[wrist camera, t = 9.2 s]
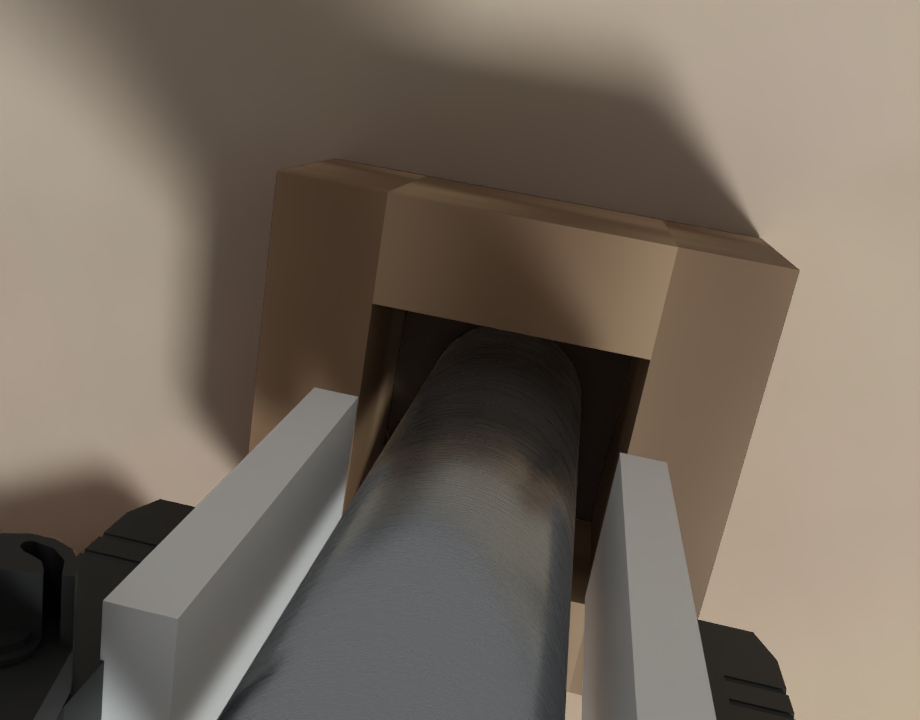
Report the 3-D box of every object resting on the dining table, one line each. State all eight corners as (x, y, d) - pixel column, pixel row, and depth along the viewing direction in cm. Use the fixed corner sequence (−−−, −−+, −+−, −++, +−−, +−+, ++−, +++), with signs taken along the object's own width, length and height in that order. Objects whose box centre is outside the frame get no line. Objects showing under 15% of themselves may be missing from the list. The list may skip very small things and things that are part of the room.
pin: (419, 451, 20) (76, 1124, 7) (442, 309, 19) (90, 783, 6) (564, 482, 20) (497, 1252, 7) (596, 340, 19) (594, 915, 6)
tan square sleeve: (289, 531, 21) (232, 611, 18) (334, 158, 19) (276, 170, 15) (657, 616, 20) (670, 715, 17) (761, 238, 18) (799, 270, 14)
